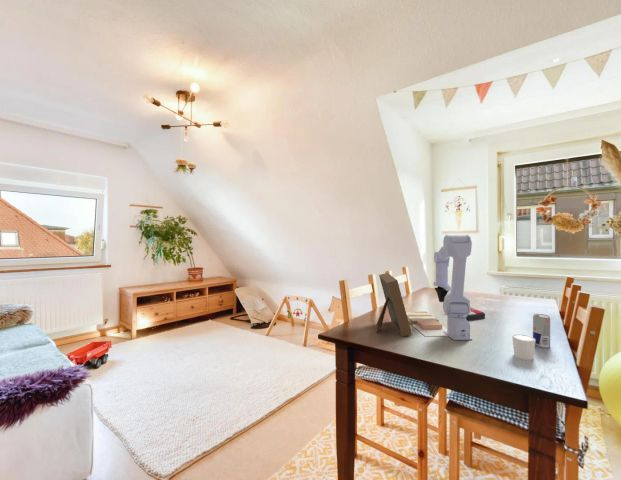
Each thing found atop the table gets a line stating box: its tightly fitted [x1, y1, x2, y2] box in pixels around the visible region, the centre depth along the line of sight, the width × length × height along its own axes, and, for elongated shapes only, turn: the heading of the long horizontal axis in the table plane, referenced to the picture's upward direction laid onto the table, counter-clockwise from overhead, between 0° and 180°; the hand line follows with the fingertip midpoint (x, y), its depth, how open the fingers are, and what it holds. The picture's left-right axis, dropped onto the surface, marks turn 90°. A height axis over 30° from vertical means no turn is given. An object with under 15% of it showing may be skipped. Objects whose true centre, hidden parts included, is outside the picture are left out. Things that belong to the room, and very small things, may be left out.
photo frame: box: [375, 272, 413, 338], centre depth 137 cm, size 15×22×25 cm
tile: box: [416, 320, 443, 330], centre depth 138 cm, size 8×9×2 cm
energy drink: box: [532, 313, 551, 349], centre depth 114 cm, size 5×5×12 cm
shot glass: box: [511, 334, 536, 361], centre depth 105 cm, size 7×7×7 cm
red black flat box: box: [466, 307, 486, 322], centre depth 156 cm, size 11×4×15 cm
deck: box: [406, 311, 440, 325], centre depth 150 cm, size 15×13×2 cm
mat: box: [411, 324, 449, 338], centre depth 134 cm, size 16×14×1 cm
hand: (441, 301), depth 149 cm, fingers closed
